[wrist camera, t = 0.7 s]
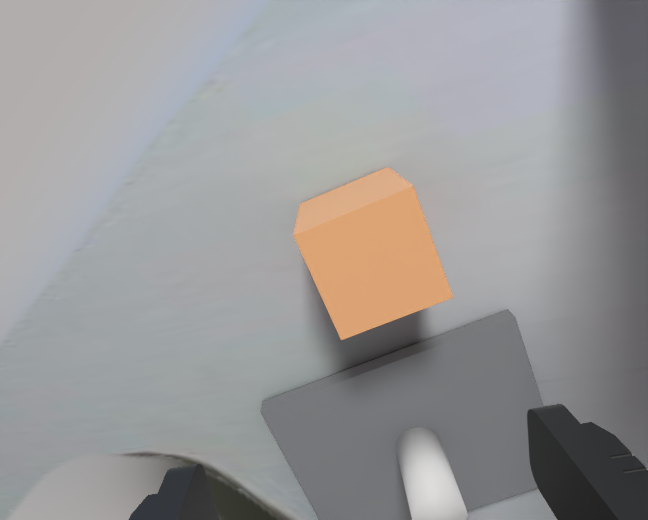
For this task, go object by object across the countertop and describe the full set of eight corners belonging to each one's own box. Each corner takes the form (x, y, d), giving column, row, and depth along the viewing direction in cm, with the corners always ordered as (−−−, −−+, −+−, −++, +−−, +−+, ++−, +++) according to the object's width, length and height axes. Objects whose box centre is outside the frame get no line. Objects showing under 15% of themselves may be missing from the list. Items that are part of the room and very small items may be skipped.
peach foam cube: (388, 166, 27) (413, 185, 20) (419, 251, 29) (453, 297, 22) (299, 203, 28) (293, 235, 21) (335, 285, 30) (341, 340, 23)
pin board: (507, 309, 30) (562, 366, 24) (558, 466, 34) (617, 554, 28) (262, 401, 32) (247, 478, 26) (337, 539, 36) (341, 638, 30)
